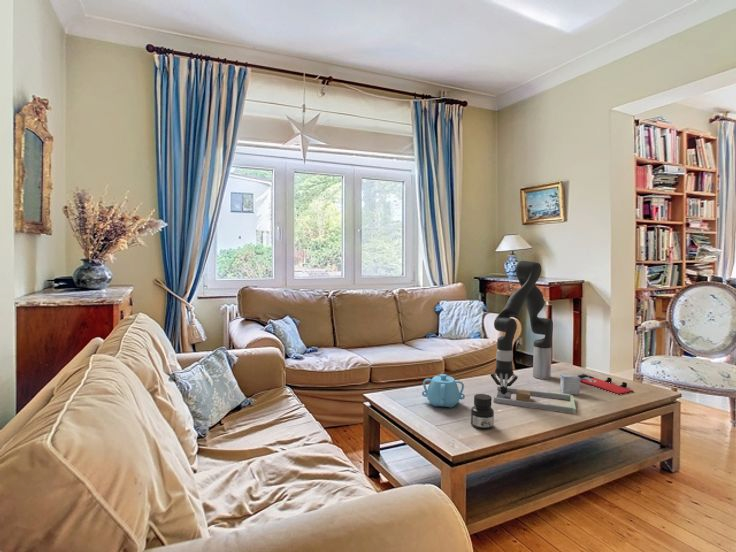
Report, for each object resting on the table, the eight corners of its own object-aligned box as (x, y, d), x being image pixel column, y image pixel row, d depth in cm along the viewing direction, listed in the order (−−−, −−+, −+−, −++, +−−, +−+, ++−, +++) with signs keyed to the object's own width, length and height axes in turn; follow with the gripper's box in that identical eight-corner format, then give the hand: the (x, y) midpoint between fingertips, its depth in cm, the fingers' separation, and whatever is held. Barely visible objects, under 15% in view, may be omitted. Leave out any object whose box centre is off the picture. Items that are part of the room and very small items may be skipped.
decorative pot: (418, 400, 196) (418, 372, 195) (446, 395, 203) (446, 367, 202) (439, 412, 182) (439, 382, 181) (468, 406, 189) (468, 377, 188)
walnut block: (516, 397, 202) (517, 389, 201) (530, 398, 199) (530, 390, 199) (516, 401, 196) (516, 392, 196) (529, 403, 194) (529, 394, 194)
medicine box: (576, 391, 209) (576, 374, 208) (579, 394, 205) (580, 377, 204) (559, 391, 210) (560, 374, 209) (563, 394, 205) (563, 377, 205)
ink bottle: (472, 430, 164) (472, 400, 163) (468, 420, 173) (468, 392, 172) (497, 430, 164) (497, 400, 163) (491, 421, 172) (492, 393, 172)
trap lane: (497, 390, 211) (497, 385, 211) (572, 399, 198) (573, 394, 198) (493, 402, 194) (493, 397, 194) (575, 413, 181) (575, 408, 181)
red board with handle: (586, 375, 238) (567, 378, 232) (586, 370, 237) (567, 373, 232) (638, 392, 210) (618, 396, 204) (638, 386, 210) (618, 391, 204)
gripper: (519, 358, 201) (518, 393, 202) (491, 355, 206) (490, 389, 207) (518, 362, 194) (517, 398, 195) (489, 359, 199) (488, 394, 200)
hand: (503, 393), depth 201 cm, fingers closed
